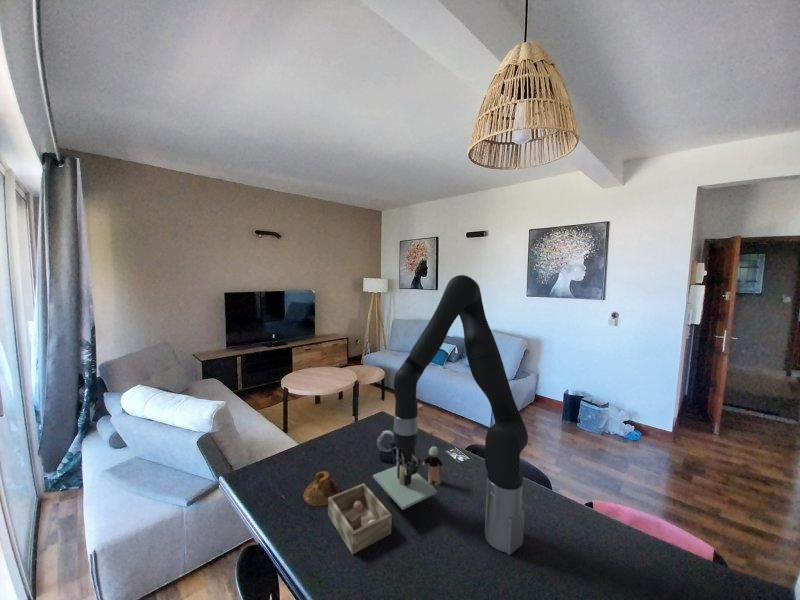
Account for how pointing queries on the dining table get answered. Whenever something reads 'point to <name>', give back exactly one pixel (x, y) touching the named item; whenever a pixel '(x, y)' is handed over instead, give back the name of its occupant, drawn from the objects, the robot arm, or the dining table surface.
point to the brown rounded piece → (321, 490)
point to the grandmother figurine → (433, 466)
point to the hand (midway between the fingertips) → (403, 480)
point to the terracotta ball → (357, 506)
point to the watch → (385, 448)
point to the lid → (404, 487)
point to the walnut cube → (353, 519)
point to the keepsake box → (370, 511)
